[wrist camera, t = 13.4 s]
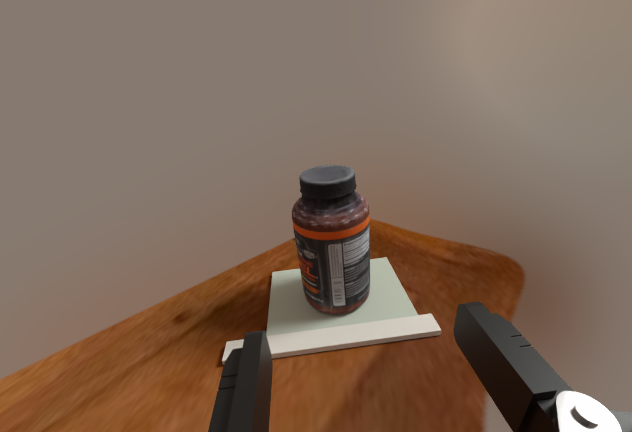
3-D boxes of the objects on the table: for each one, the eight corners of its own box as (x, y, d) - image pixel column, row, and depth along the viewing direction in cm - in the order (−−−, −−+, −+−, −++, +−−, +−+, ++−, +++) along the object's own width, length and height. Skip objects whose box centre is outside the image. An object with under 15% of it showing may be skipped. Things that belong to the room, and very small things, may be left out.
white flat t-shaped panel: (223, 365, 19) (222, 360, 19) (244, 279, 28) (243, 275, 28) (440, 334, 20) (441, 330, 20) (395, 259, 29) (395, 255, 28)
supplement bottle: (293, 286, 26) (273, 172, 21) (346, 263, 28) (338, 155, 23) (324, 330, 21) (307, 195, 16) (385, 298, 23) (387, 171, 18)
